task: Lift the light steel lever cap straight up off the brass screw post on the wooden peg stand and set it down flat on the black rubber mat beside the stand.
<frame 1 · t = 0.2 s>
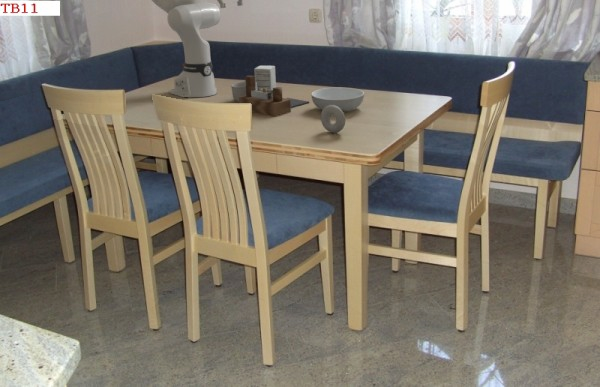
hand: (231, 6, 300), 39 cm above the table, tool pointing down, fingers open, 8 cm apart
serving bowl: (337, 110, 294), on the table
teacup: (246, 101, 312), on the table
wooden peg stand: (264, 110, 296), on the table
supplement box: (266, 96, 321), on the table
lever cap: (264, 98, 294), point 5 cm above the table, touching wooden peg stand
rubber mat: (288, 103, 306), on the table
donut: (333, 133, 263), on the table
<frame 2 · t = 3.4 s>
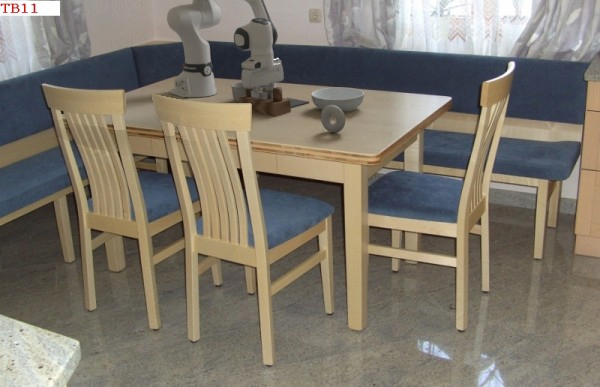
hand: (264, 96, 294), 6 cm above the table, tool pointing down, fingers closed on lever cap, 5 cm apart
lever cap: (264, 98, 294), point 5 cm above the table, touching gripper, wooden peg stand
everything else where it was.
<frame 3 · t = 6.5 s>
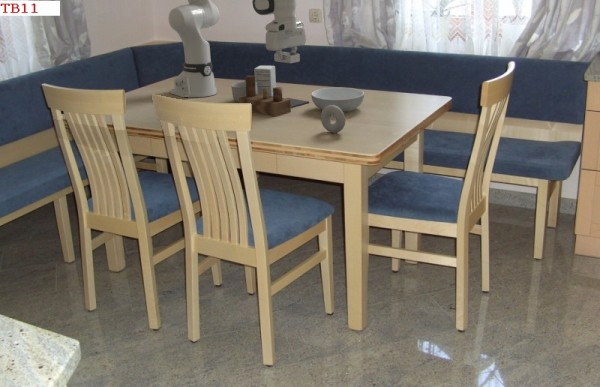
hand: (286, 58, 299), 19 cm above the table, tool pointing down, fingers closed on lever cap, 5 cm apart
lever cap: (287, 61, 300), point 18 cm above the table, touching gripper
everything else where it was.
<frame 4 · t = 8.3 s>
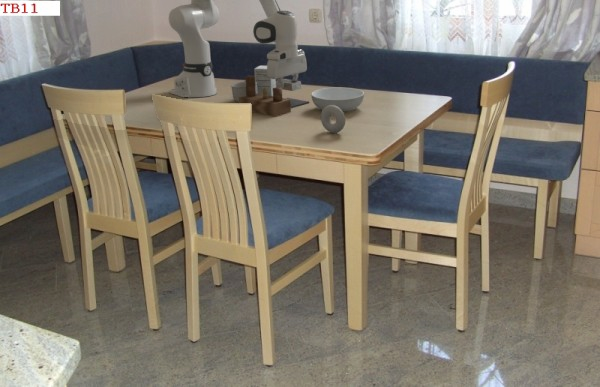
hand: (288, 86, 303), 7 cm above the table, tool pointing down, fingers closed on lever cap, 5 cm apart
lever cap: (288, 88, 303), point 6 cm above the table, touching gripper
everything else where it was.
when the fingers open (3 cm above the table, at t = 9.6 s): lever cap drops 2 cm, resting on rubber mat.
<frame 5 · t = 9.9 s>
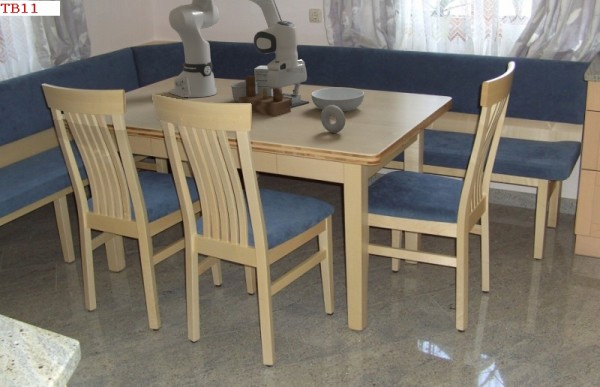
hand: (288, 96, 305), 3 cm above the table, tool pointing down, fingers open, 8 cm apart
lever cap: (288, 102, 306), point 1 cm above the table, touching rubber mat
everything else where it was.
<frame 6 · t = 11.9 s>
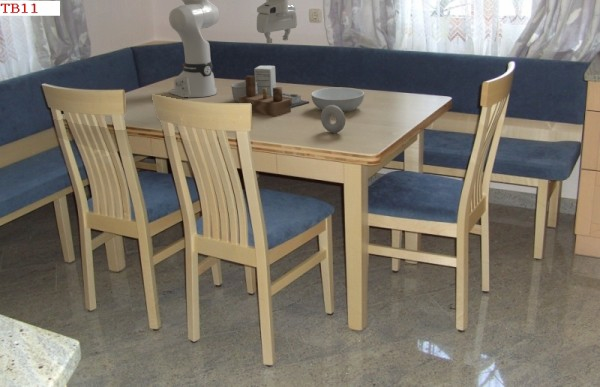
hand: (277, 41, 303), 25 cm above the table, tool pointing down, fingers open, 8 cm apart
nothing on the table moved.
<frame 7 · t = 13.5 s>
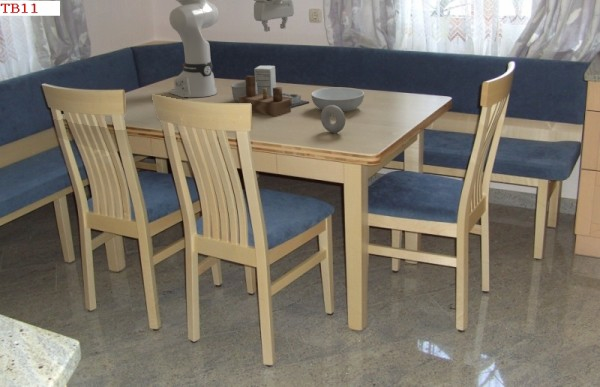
hand: (275, 29, 303), 29 cm above the table, tool pointing down, fingers open, 8 cm apart
nothing on the table moved.
at the end: lever cap inside the target area on the rubber mat (0.0 cm from its centre), point 0.6 cm above the rubber mat's base; lever cap tilted 0°; the gripper is holding nothing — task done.
